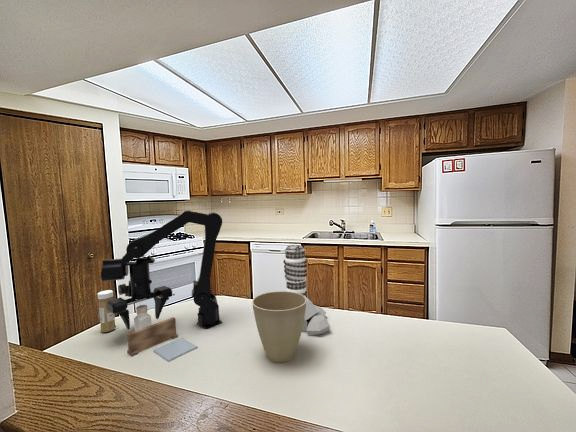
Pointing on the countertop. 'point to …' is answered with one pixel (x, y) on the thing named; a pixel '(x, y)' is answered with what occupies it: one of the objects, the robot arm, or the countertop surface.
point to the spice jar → (106, 311)
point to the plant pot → (279, 322)
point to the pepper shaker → (142, 318)
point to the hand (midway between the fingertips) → (143, 323)
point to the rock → (315, 319)
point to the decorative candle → (295, 269)
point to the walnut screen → (151, 336)
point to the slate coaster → (175, 349)
